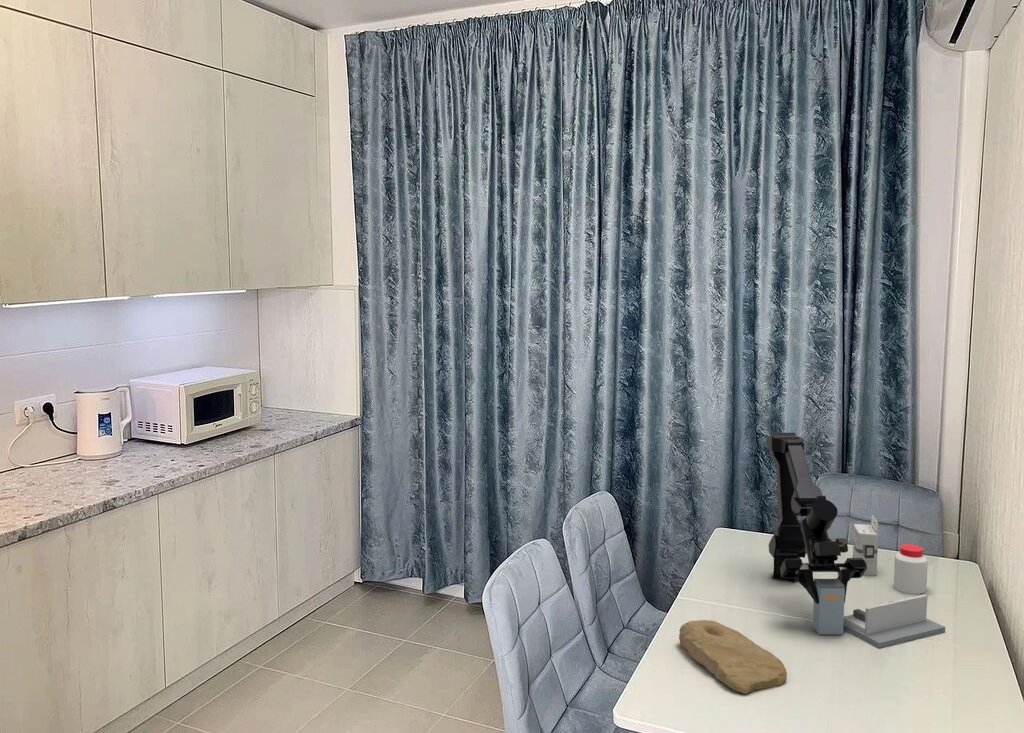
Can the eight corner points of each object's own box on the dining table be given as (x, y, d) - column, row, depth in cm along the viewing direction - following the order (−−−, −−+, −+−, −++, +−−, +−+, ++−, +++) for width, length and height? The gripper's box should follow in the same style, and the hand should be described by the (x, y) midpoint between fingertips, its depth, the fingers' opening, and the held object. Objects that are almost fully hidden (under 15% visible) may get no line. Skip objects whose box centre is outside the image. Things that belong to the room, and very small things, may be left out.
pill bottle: (894, 592, 218) (895, 550, 217) (892, 581, 225) (894, 541, 224) (927, 596, 215) (929, 554, 214) (925, 585, 222) (927, 544, 221)
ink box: (851, 564, 239) (853, 513, 237) (870, 565, 238) (872, 513, 236) (857, 575, 230) (859, 522, 228) (877, 576, 229) (879, 523, 227)
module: (812, 625, 199) (814, 578, 197) (836, 625, 198) (838, 578, 197) (818, 634, 194) (820, 586, 192) (843, 634, 194) (845, 586, 192)
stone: (736, 702, 167) (738, 674, 167) (669, 643, 191) (670, 619, 190) (800, 690, 173) (802, 663, 172) (727, 634, 196) (728, 611, 196)
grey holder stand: (832, 623, 200) (833, 594, 199) (896, 609, 208) (897, 581, 207) (879, 648, 187) (880, 617, 186) (945, 631, 195) (946, 601, 194)
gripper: (784, 525, 197) (797, 589, 188) (866, 524, 197) (883, 588, 187) (774, 546, 206) (786, 608, 197) (852, 546, 206) (868, 608, 196)
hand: (830, 603), depth 194 cm, fingers closed on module, 5 cm apart
